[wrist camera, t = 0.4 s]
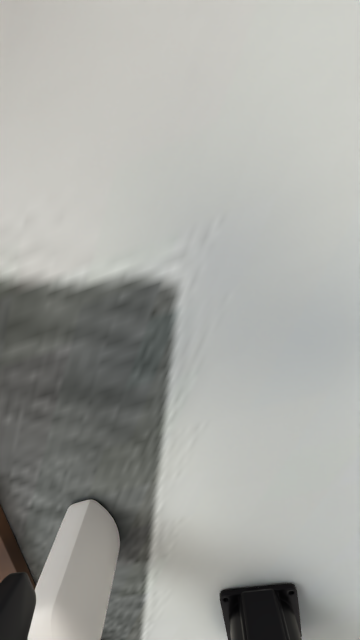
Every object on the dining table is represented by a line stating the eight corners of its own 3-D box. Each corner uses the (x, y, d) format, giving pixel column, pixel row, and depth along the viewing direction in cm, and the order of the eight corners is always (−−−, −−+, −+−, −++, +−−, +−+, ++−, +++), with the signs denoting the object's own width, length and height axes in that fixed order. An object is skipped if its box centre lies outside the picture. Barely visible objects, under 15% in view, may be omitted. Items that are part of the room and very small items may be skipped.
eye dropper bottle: (67, 546, 27) (-23, 792, 15) (69, 493, 25) (-30, 724, 13) (119, 552, 27) (69, 802, 15) (125, 500, 25) (74, 735, 14)
